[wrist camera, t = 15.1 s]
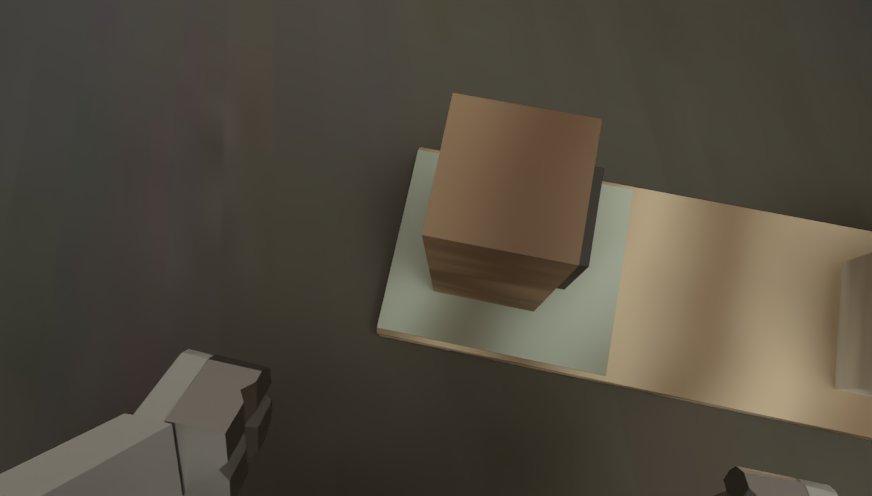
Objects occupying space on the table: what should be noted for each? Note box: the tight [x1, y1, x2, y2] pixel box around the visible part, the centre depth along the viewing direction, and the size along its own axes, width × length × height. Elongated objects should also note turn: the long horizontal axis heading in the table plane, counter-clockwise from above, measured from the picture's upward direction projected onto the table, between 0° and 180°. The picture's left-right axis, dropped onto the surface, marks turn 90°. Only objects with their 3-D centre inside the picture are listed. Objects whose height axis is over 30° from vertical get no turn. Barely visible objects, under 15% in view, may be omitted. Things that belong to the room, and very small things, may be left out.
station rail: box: [376, 147, 872, 440], centre depth 20 cm, size 24×8×10 cm, turn 78°
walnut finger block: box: [422, 93, 604, 312], centre depth 20 cm, size 5×4×9 cm
